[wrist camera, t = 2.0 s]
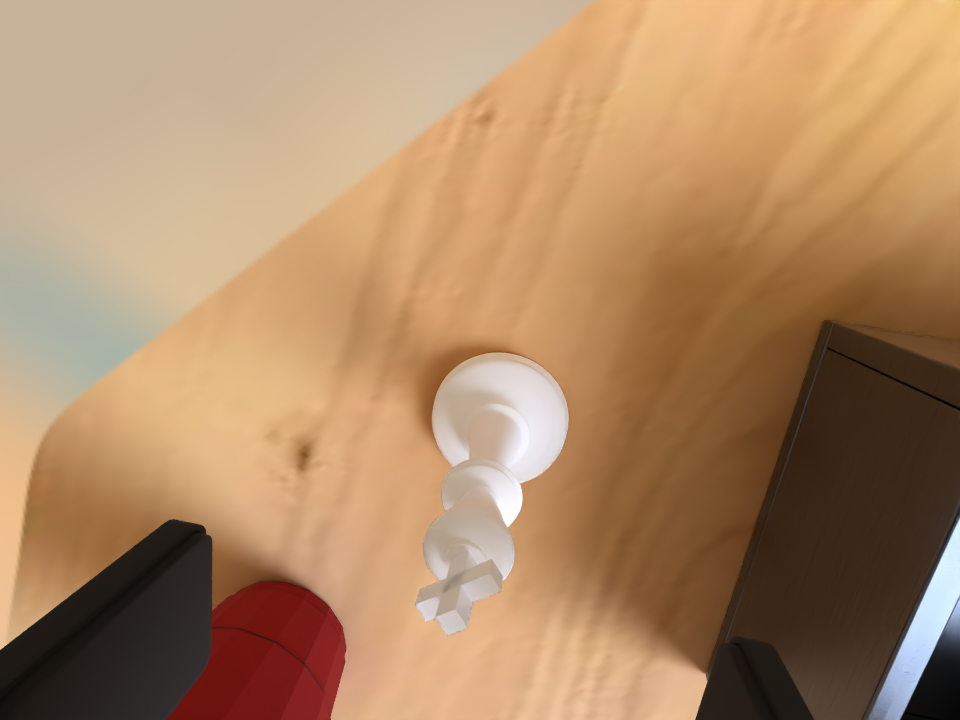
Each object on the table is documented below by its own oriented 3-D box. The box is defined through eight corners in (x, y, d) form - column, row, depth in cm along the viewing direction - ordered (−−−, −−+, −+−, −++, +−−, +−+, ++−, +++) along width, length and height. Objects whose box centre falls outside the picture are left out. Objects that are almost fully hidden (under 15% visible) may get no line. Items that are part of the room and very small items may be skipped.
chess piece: (592, 444, 19) (640, 681, 9) (476, 498, 20) (410, 760, 10) (525, 327, 18) (501, 452, 8) (408, 391, 19) (268, 565, 9)
